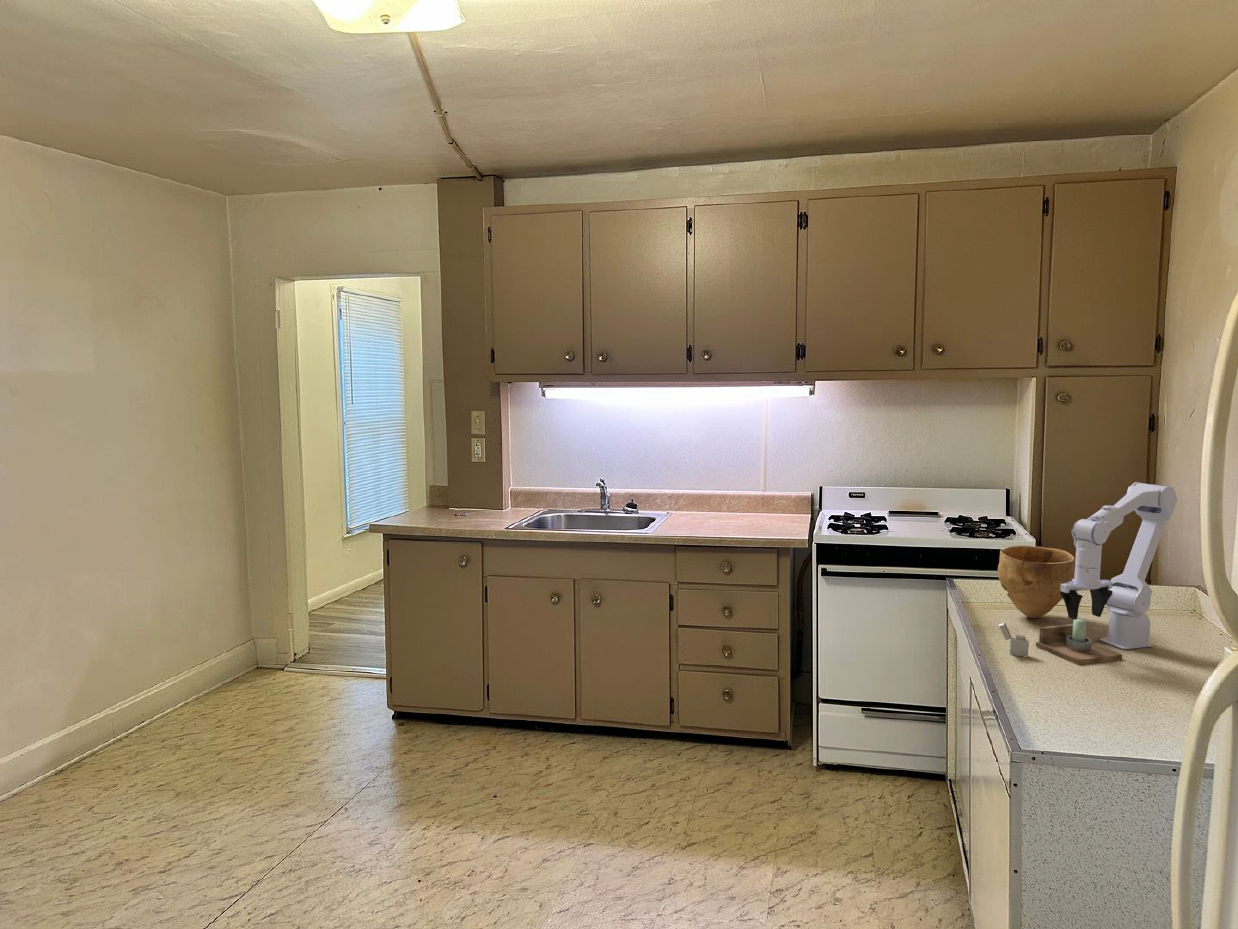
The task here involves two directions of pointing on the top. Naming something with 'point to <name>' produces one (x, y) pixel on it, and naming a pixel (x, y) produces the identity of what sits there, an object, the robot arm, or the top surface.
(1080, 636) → the peg
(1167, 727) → the top surface
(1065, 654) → the cup bracket
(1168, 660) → the top surface
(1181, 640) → the top surface
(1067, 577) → the bowl
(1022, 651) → the lighter
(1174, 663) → the top surface
